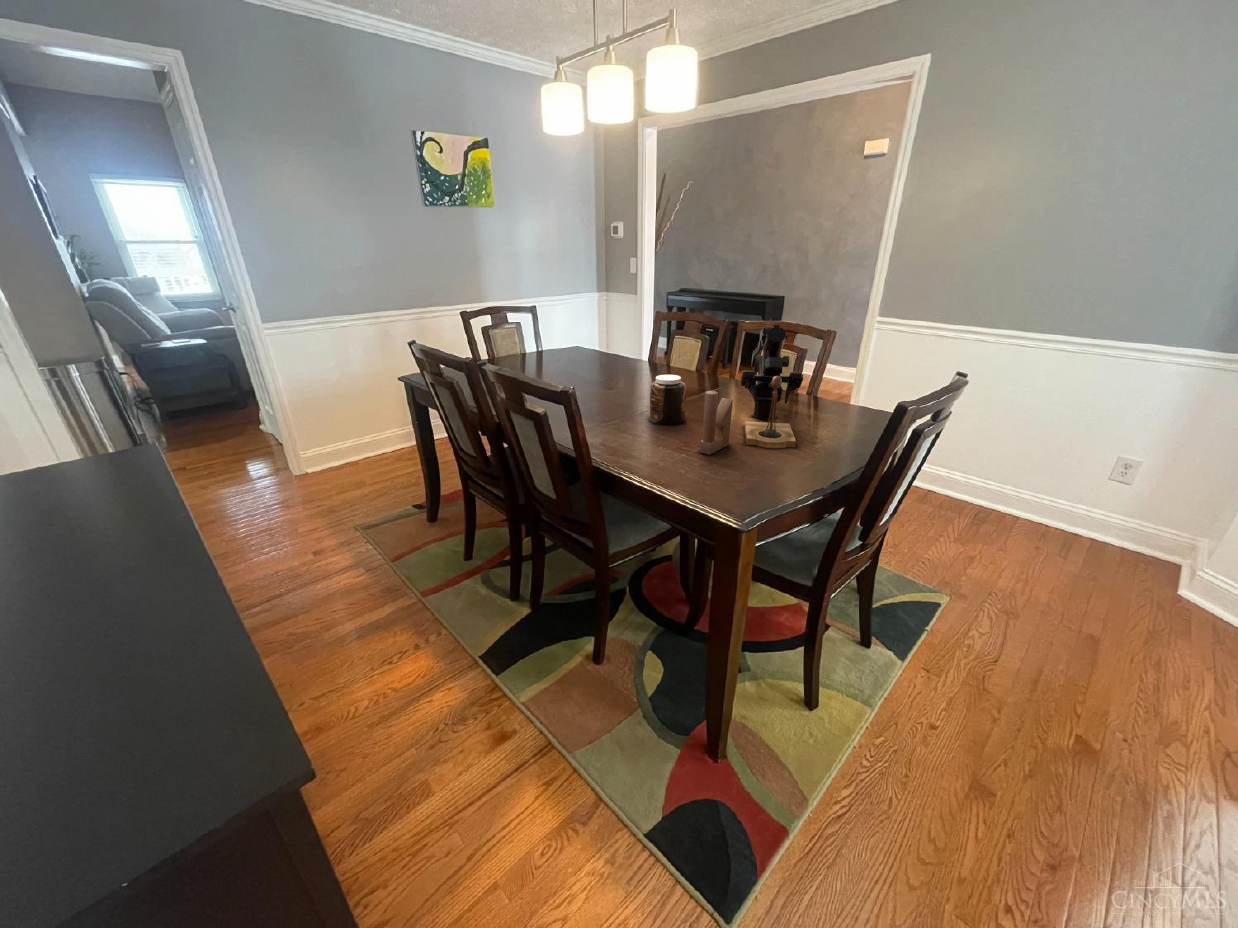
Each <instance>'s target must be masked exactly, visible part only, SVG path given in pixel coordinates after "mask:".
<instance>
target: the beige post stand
mask: <svg viewBox="0 0 1238 928" xmlns="http://www.w3.org/2000/svg"><path fill="white" fill-rule="evenodd" d="M718 401H719V392H718V391H715V390H707V391H705V393H704V407H703V408H704V409H703V422H702V437H701V438H702V440H700V442H699V453H702V454H705V455H708V456H711V455H712V454H714V453H716V452H718V451H719V450H722V449H724V448H725V447H727V446H729V444H730V434H731V433H730V432H731V423H732V411H733V399H729V398H724V397H722V398H721V399H720V401H719V402H718Z"/></svg>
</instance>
